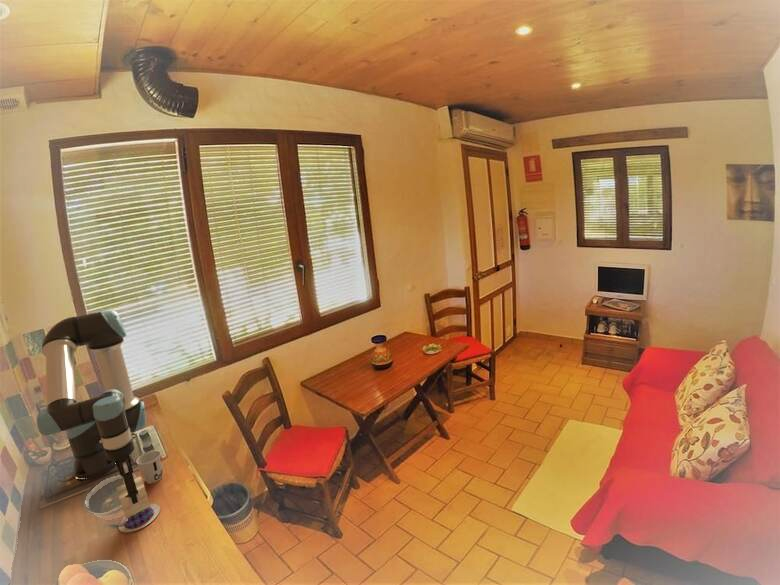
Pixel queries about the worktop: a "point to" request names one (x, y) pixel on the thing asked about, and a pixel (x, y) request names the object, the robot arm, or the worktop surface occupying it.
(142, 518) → the plate of blueberries
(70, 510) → the worktop surface
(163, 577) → the worktop surface
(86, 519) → the worktop surface
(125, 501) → the block
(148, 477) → the cup
